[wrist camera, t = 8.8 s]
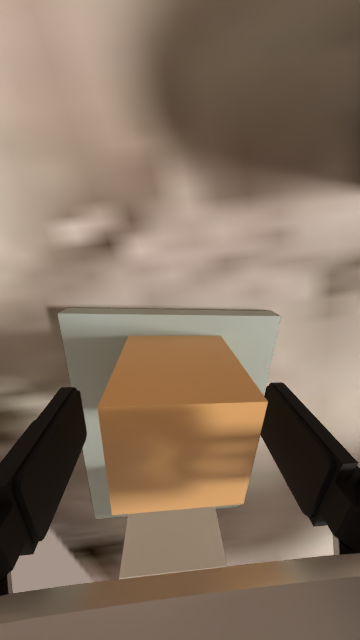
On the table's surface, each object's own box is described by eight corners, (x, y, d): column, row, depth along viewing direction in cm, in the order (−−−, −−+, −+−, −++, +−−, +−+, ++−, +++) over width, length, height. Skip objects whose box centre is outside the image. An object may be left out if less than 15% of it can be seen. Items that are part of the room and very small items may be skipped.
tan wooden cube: (221, 335, 11) (267, 401, 6) (212, 407, 13) (243, 503, 8) (128, 335, 11) (97, 407, 6) (132, 410, 13) (112, 515, 8)
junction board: (270, 310, 13) (379, 367, 6) (233, 491, 19) (268, 612, 12) (67, 307, 11) (-52, 373, 5) (99, 502, 18) (63, 640, 11)
